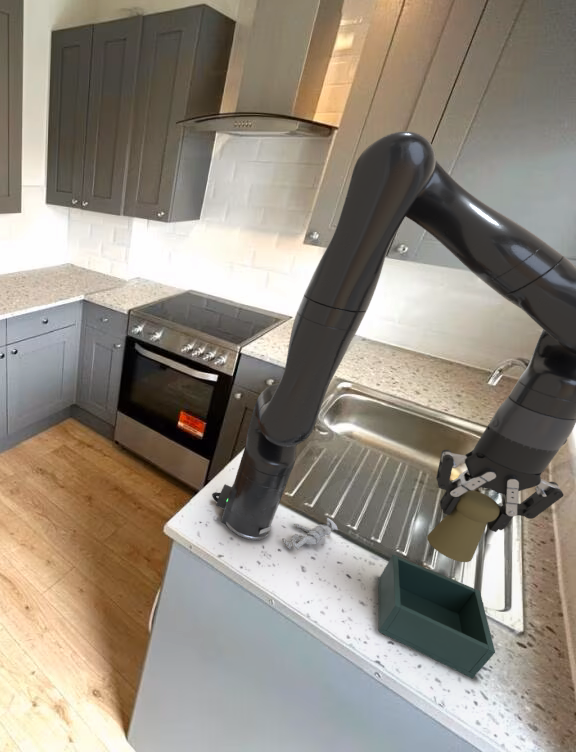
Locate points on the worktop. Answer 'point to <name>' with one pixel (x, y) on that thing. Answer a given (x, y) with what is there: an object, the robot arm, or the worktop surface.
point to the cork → (464, 526)
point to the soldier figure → (311, 534)
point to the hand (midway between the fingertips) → (467, 518)
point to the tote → (434, 616)
